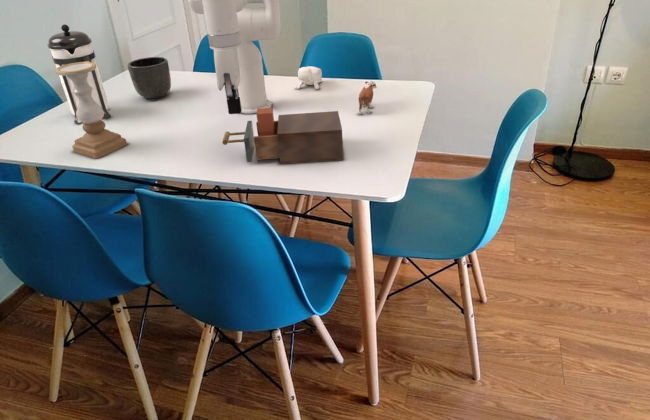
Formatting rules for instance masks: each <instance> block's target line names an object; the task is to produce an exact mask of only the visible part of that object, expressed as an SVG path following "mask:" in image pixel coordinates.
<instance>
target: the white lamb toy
mask: <svg viewBox="0 0 650 420" xmlns="http://www.w3.org/2000/svg"><path fill="white" fill-rule="evenodd" d="M322 72H323V71H322V68H319V67H317V66H313V65H312V66H311V65H310V66H309V65H307V66H302V67H299V68H298V71H297V78H298V81H297V83H296V85H295V89H296V90H299V89H301V87H302V86H303V85H306V86H312V85H313V86H314V89H315V90H319V89H320V85H319V83H322V80H323V73H322Z"/></svg>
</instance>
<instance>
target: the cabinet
mask: <svg viewBox="0 0 650 420" xmlns="http://www.w3.org/2000/svg"><path fill="white" fill-rule="evenodd" d="M277 121H278V130H277V137H278V146H279V155H280V158H279V164H280V165H290V164H305V163H316V162H318V163H319V162H320V163H321V162H334V161H344V149H343V148H344V147H343V146H344V145H343V142H344V141H343V127H342V123H341V118H340V114H339V111H338V110H332V111H331V110H330V111H319V112H304V113H287V114H286V113H285V114H278V117H277Z"/></svg>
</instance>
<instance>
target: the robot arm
mask: <svg viewBox="0 0 650 420" xmlns="http://www.w3.org/2000/svg"><path fill="white" fill-rule="evenodd" d="M187 2H188V5H189V8H190V9H191V11H192V12H193V13H195V14H198V15H204V20H205V27H206V33H207V38H208V44H209V48H210V50H213V58H214V59H213V62H214V68H215V69H214V70H215V78H216V84H217V85H216V86H217V90H218V91H222V90H223V89H224V90H225V96H226V104H227V112H228V114H229V115H239V114H245V115H246V114H247V115H249V114H257V109H261V108H272V107H273V106H272V105H273V104H272V101H271V99H268V98H267V92H266V82H265V73H264V65H263V56H262V53H261V50H260V49H259V47H258V46H257V45H256V44H255V43H254V42H256V41H267V40H268V41H269V40H276V39H278V38H279V37H280V36H281V33H282V22H281V21H282V20H281V10H280V0H187ZM247 4H263V5H264V7H263V6H262V7H246V5H247ZM245 7H246V8H245Z"/></svg>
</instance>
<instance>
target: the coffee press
mask: <svg viewBox="0 0 650 420" xmlns="http://www.w3.org/2000/svg"><path fill="white" fill-rule="evenodd" d="M60 29H61V31H63V32H58V33H55V34H53V35H52V36H50V37H49V39H48V43H47V48H48V50H50V53H51V58H52V61H53V64H54V65H55V67H56V68H58V67H60V66H63V65H66V64H71V63H77V62H93V63H95V64H96V68H95V69H94V70H93V71H90V72H88V77H87V82H88V84H89V85H90V86H91V87H92V88H93V90H92V93H91V97H92V99H93V100H94V101H95V102H96V103H97V104H98V105H100V106H101V107H102V109H103V111H104V116H103V118H105V119H109V118H111V117H112V116H111V113H110V112H109V111H108V110H110V109H109V108H110V104H109V100H108V97H107V94H106V89H105V86H104V83H103V80H102V76H101V73H100V69H99V66H98V63H97V59H96V57H97V56H96V53H95V50H94V49H93V45H92V38H91V37H89V35H88V34H87V33H85V32H83V31H78V30H77V31H76V30H74V31H73V30H72V31H71V30H70V26H69V25H68V24H65V23H64V24H62V25H61V27H60ZM56 68H55V69H56ZM58 77H59V80H60V82H61V86H62V89H63V93H64V95H65V98H66V101H67V104H68V106H69V110H70V113H71V114H72V115H73V116H74V119H73V122H74V124H78V125H79V124H81V123H82V122H81V121H79V120H78V119H77V117H76V111H77V107H78V104H79V98H78V97H77V96H76V94H74V93H73V89H74V83H73V82H72V80H70V79H69V78H68V77H67V76H62V75H58Z"/></svg>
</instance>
